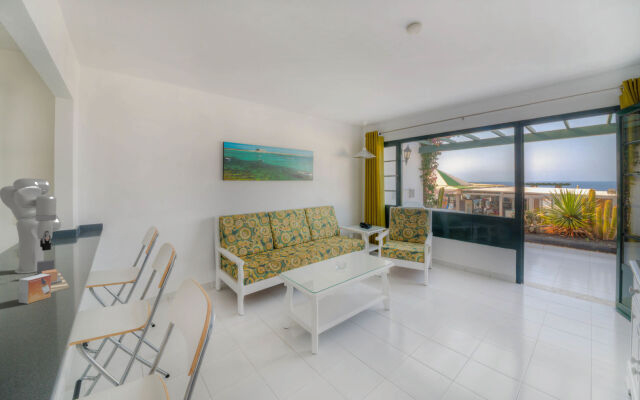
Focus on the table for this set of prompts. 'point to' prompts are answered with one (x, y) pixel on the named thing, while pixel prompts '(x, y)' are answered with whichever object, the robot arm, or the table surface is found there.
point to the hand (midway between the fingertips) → (45, 248)
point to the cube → (51, 272)
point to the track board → (59, 284)
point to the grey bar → (46, 268)
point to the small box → (34, 288)
